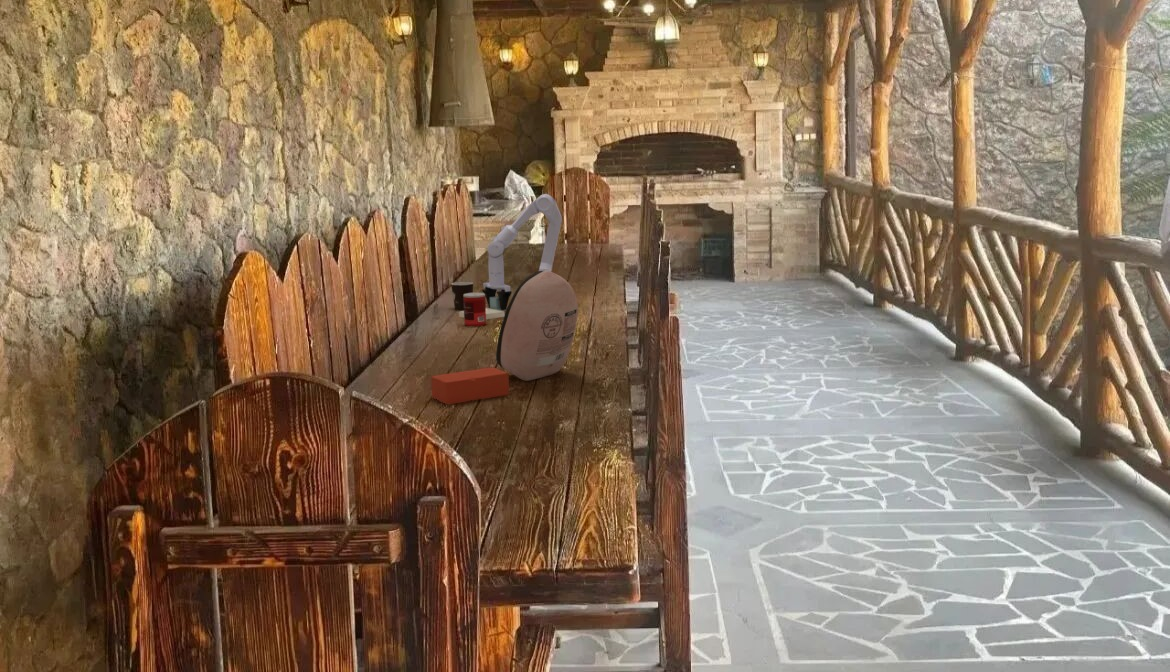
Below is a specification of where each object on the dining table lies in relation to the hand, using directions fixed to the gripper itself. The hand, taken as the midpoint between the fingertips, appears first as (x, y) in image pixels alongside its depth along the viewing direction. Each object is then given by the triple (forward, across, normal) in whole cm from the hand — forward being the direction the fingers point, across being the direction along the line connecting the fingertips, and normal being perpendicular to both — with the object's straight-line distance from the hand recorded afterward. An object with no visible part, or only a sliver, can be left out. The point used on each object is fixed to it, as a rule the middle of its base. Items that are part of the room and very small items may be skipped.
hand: (497, 308), depth 401 cm
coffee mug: (+2, -18, -3) cm, 18 cm away
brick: (+2, +100, -83) cm, 130 cm away
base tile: (+2, +3, -10) cm, 10 cm away
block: (+2, 0, 0) cm, 2 cm away
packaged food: (+2, +96, -57) cm, 112 cm away
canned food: (+2, +15, -21) cm, 26 cm away
